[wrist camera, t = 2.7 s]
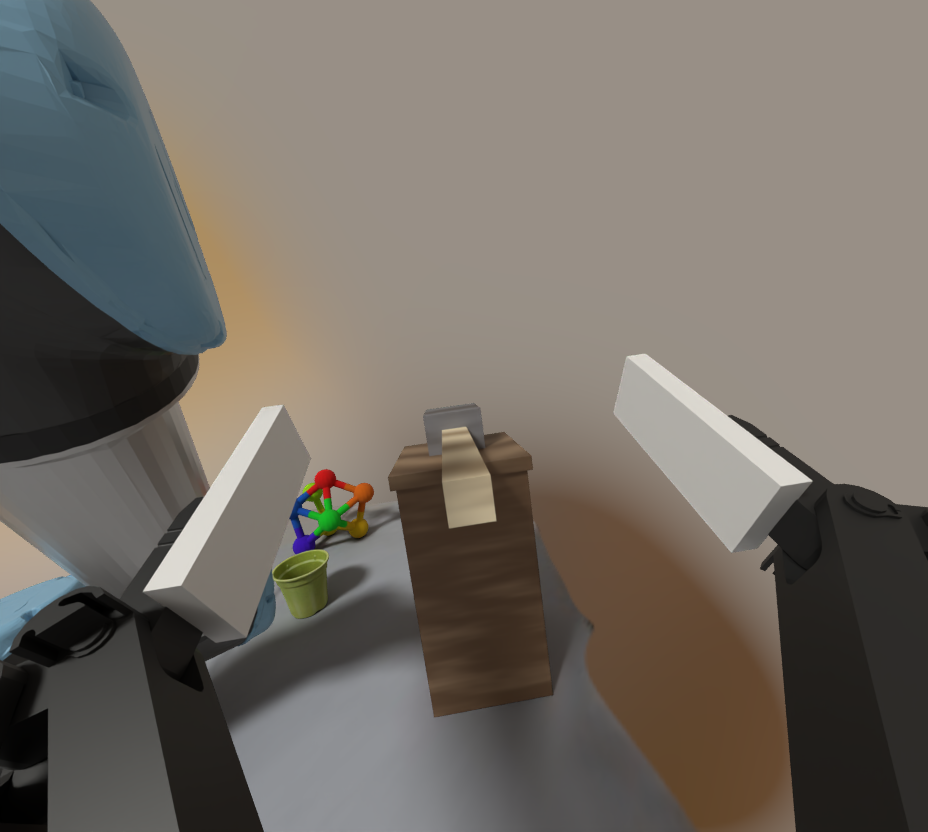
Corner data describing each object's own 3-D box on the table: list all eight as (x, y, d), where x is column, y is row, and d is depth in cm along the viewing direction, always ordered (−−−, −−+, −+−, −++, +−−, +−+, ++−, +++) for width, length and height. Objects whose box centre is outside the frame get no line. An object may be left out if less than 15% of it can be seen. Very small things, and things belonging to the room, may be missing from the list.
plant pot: (330, 618, 56) (321, 572, 55) (272, 633, 55) (261, 585, 54) (341, 585, 65) (333, 545, 64) (291, 597, 64) (282, 555, 63)
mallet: (431, 443, 48) (426, 409, 47) (478, 436, 48) (473, 403, 48) (416, 533, 20) (404, 455, 20) (527, 515, 20) (518, 438, 20)
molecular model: (387, 527, 88) (369, 458, 84) (355, 565, 73) (331, 484, 70) (324, 529, 94) (304, 464, 90) (282, 565, 80) (257, 489, 76)
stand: (433, 623, 52) (404, 446, 48) (525, 607, 53) (504, 432, 49) (429, 722, 37) (387, 477, 33) (558, 698, 38) (531, 455, 34)
